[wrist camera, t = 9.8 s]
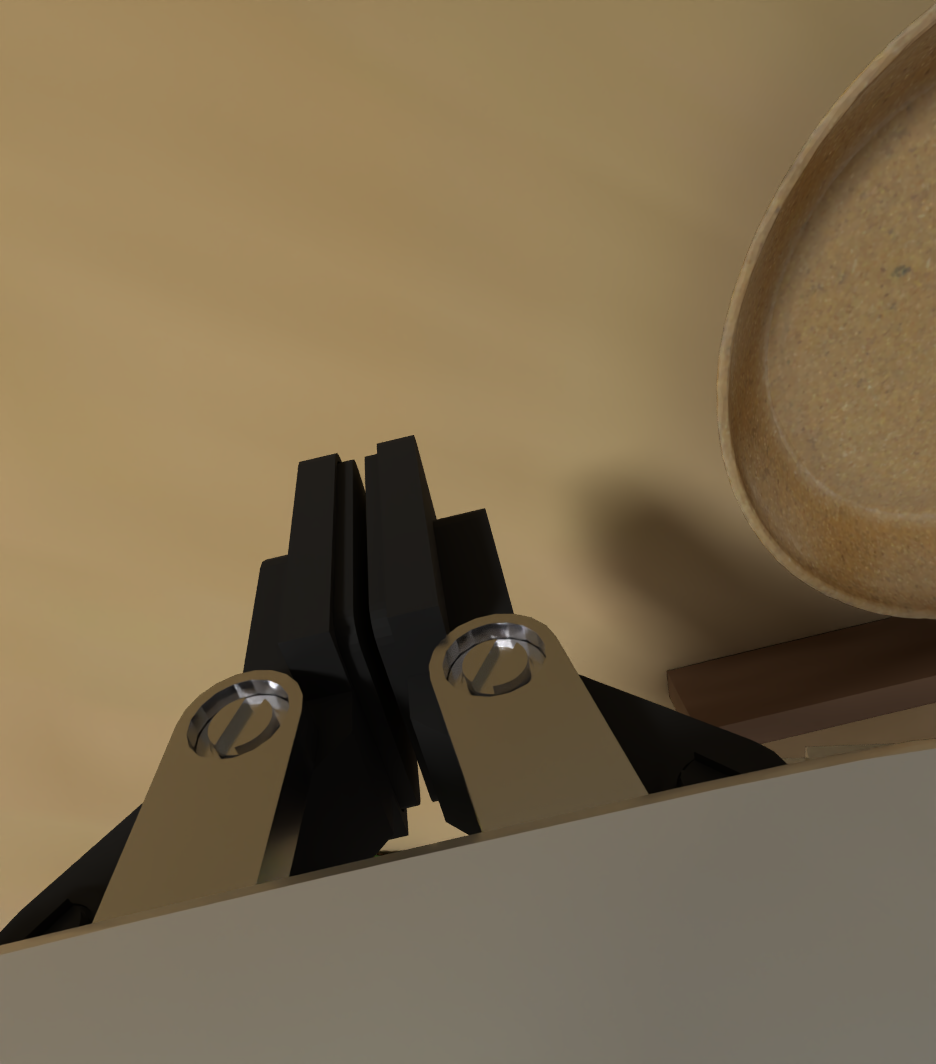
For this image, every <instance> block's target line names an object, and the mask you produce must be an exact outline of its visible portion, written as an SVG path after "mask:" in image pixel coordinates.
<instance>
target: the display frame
mask: <svg viewBox="0 0 936 1064" xmlns="http://www.w3.org/2000/svg"><path fill="white" fill-rule="evenodd" d="M667 679H668V689H669V697H670V699H671V701H672V703H673V705H674V707H675V709H676V711H677V712H679V713H682V714H685V715H687V716H690V717H693V718H695V719H698V720H700V721H703V722H706V723H708V724H711V725H714V726H716V727H719V728H722V729H724V730H727V731H730V732H732V733H735V734H737V735H740V736H743V737H745V738H748V739H751V740H753V741H755V742H757V743H759V744H763V743H767V742H771V741H775V740H780V739H784V738H788V737H792V736H796V735H801V734H805V733H809V732H813V731H817V730H822V729H826V728H830V727H834V726H838V725H843V724H847V723H851V722H855V721H859V720H864V719H868V718H872V717H876V716H880V715H885V714H889V713H893V712H897V711H901V710H906V709H910V708H914V707H918V706H922V705H927V704H931V703H935V702H936V619H927V618H922V619H916V618H902V617H892V618H888V619H884V620H880V621H875V622H871V623H867V624H863V625H859V626H854V627H850V628H846V629H842V630H838V631H833V632H829V633H825V634H821V635H817V636H812V637H808V638H804V639H800V640H796V641H791V642H787V643H783V644H779V645H775V646H770V647H766V648H762V649H758V650H754V651H749V652H745V653H741V654H737V655H733V656H728V657H724V658H720V659H716V660H712V661H707V662H703V663H699V664H695V665H691V666H686V667H682V668H678V669H674V670H670V671H667Z"/></svg>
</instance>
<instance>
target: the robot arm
mask: <svg viewBox="0 0 936 1064" xmlns="http://www.w3.org/2000/svg"><path fill="white" fill-rule="evenodd" d="M365 488H366V493H365V489H364V486H363V483H362V480H361V477H360V474H359V470H358V468H357V465H356V462H355V461H354V460H349V461H345V462H342V461H341V459H340V457H339V455H338V454H337V453H336V454H331V455H327V456H323V457H319V458H314V459H310V460H306V461H302V462H299V465H298V473H297V482H296V490H295V499H294V507H293V516H292V524H291V533H290V541H289V550H288V555H284V556H280V557H276V558H272V559H267V560H265V561H263V562H262V565H261V568H260V573H259V579H258V585H257V591H256V597H255V603H254V609H253V615H252V621H251V627H250V634H249V640H248V646H247V652H246V658H245V664H244V670H243V673H241V674H237V675H234V676H232V677H230V678H228V679H225V680H223V681H221V682H219V683H217V684H215V685H214V686H212V687H211V688H209V689H208V690H206V691H205V692H204V693H202V694H201V695H199V696H198V697H197V698H196V699H195V700H194V701H193V702H192V703H191V704H190V706H189V707H188V708H187V709H186V710H185V711H184V713H183V715H182V716H181V718H180V720H179V721H178V723H177V725H176V727H175V729H174V731H173V734H172V736H171V738H170V741H169V743H168V745H167V748H166V750H165V753H164V755H163V757H162V760H161V762H160V764H159V767H158V769H157V771H156V774H155V776H154V778H153V781H152V783H151V786H150V788H149V790H148V793H147V795H146V797H145V800H144V802H143V803H142V804H141V805H140V806H139V807H138V808H137V809H135V810H134V811H133V812H132V813H131V814H130V815H129V816H128V817H126V818H125V819H124V820H123V821H122V822H121V823H120V824H118V825H117V826H116V827H115V828H114V829H113V830H112V831H110V832H109V833H108V834H107V835H106V836H105V837H104V838H103V839H101V840H100V841H99V842H98V843H97V844H96V845H95V846H93V847H92V848H91V849H90V850H89V851H88V852H87V853H86V854H84V855H83V856H82V857H81V858H80V859H79V860H78V861H76V862H75V863H74V864H73V865H72V866H71V867H70V868H69V869H67V870H66V871H65V872H64V873H63V874H62V875H61V876H59V877H58V878H57V879H56V880H55V881H54V882H53V883H52V884H50V885H49V886H48V887H47V888H46V889H45V890H44V891H42V892H41V893H40V894H39V895H38V896H37V897H36V898H34V899H33V900H32V901H31V902H30V903H29V904H28V905H27V906H25V907H24V908H23V909H22V910H21V911H20V912H19V913H18V914H17V915H16V916H15V917H14V918H13V919H12V920H11V921H10V922H9V923H8V924H7V926H6V927H5V928H4V929H3V930H2V931H1V932H0V1064H936V738H934V739H924V740H915V741H908V742H903V743H898V744H870V745H842V746H813V747H806V751H805V758H782V759H781V758H780V757H779V756H778V755H777V754H776V753H775V752H774V751H772V750H770V749H768V748H766V747H764V746H763V745H761V744H759V743H757V742H755V741H753V740H751V739H748V738H745V737H743V736H740V735H737V734H735V733H732V732H730V731H727V730H724V729H722V728H719V727H716V726H714V725H711V724H708V723H706V722H703V721H700V720H698V719H695V718H693V717H690V716H687V715H685V714H682V713H679V712H677V711H674V710H671V709H669V708H666V707H664V706H661V705H658V704H656V703H653V702H650V701H648V700H645V699H642V698H640V697H637V696H634V695H632V694H629V693H627V692H624V691H621V690H619V689H616V688H613V687H611V686H608V685H605V684H603V683H600V682H597V681H595V680H592V679H590V678H587V677H584V676H582V675H579V674H578V673H577V671H576V670H575V668H574V666H573V664H572V663H571V661H570V659H569V658H568V656H567V654H566V653H565V651H564V649H563V647H562V646H561V644H560V642H559V641H558V639H557V637H556V636H555V635H554V634H553V632H552V631H551V630H550V629H549V628H548V627H547V626H546V625H545V624H543V623H541V622H539V621H537V620H535V619H533V618H531V617H527V616H522V615H517V614H514V613H513V609H512V605H511V602H510V598H509V594H508V591H507V587H506V583H505V579H504V576H503V572H502V568H501V565H500V561H499V557H498V554H497V550H496V546H495V543H494V539H493V535H492V532H491V528H490V524H489V520H488V517H487V513H486V510H485V508H484V509H480V510H475V511H471V512H467V513H463V514H458V515H454V516H450V517H446V518H441V519H436V515H435V511H434V507H433V504H432V500H431V496H430V492H429V488H428V485H427V481H426V477H425V473H424V469H423V466H422V462H421V458H420V454H419V450H418V447H417V443H416V440H415V437H414V435H412V436H408V437H403V438H399V439H395V440H391V441H386V442H382V443H378V444H377V454H375V455H371V456H366V457H365ZM417 761H418V764H419V767H420V769H421V772H422V775H423V778H424V781H425V784H426V787H427V789H428V792H429V795H430V798H431V800H432V801H433V802H435V801H439V803H440V806H441V809H442V812H443V815H444V818H445V821H446V822H447V823H449V824H451V825H452V826H454V827H456V828H458V829H459V830H461V831H463V832H465V833H466V834H468V836H464V837H459V838H455V839H451V840H446V841H442V842H438V843H434V844H429V845H425V846H421V847H416V848H412V849H408V850H403V851H399V852H395V853H390V854H386V855H382V856H377V857H374V856H375V855H376V854H377V853H378V852H379V850H380V849H381V848H382V847H383V846H384V845H385V843H386V842H387V841H388V840H390V839H394V838H399V837H403V836H407V835H408V821H407V808H409V807H414V806H418V805H420V788H419V776H418V765H417Z"/></svg>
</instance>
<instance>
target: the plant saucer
mask: <svg viewBox="0 0 936 1064" xmlns="http://www.w3.org/2000/svg"><path fill="white" fill-rule="evenodd" d="M716 392H717V417H718V430H719V439H720V445H721V451H722V458H723V460H724V464H725V469H726V472H727V475H728V478H729V481H730V484H731V487H732V490H733V492H734V495H735V497H736V499H737V501H738V503H739V505H740V507H741V509H742V512H743V514H744V516H745V518H746V520H747V522H748V523H749V525H750V527H751V528H752V529H753V530H754V532H755V533H756V535H757V537H758V538H759V539H760V541H761V542H762V543H763V545H764V546H765V547H766V548H767V549H768V550H769V552H770V553H771V554H772V555H773V556H774V557H775V559H776V560H777V561H778V562H779V563H780V564H782V565H783V566H784V567H785V568H786V569H787V570H788V571H789V572H790V573H791V574H793V575H794V576H795V577H797V578H798V579H799V580H801V581H802V582H804V583H805V584H807V585H809V586H810V587H812V588H814V589H816V590H817V591H819V592H821V593H823V594H825V595H827V596H828V597H831V598H834V599H837V600H839V601H841V602H843V603H845V604H848V605H851V606H853V607H856V608H859V609H863V610H867V611H871V612H874V613H878V614H884V615H890V616H894V617H902V618H916V619H922V618H927V619H936V3H935V4H934V5H933V6H931V7H930V8H929V9H928V10H927V11H925V12H924V13H923V14H922V15H921V16H919V17H918V18H917V19H916V20H915V21H914V22H912V23H911V24H910V25H909V26H908V27H907V28H906V29H905V30H903V31H902V32H901V33H900V34H899V35H898V36H897V37H896V38H894V39H893V40H892V41H891V42H890V43H889V44H888V45H887V46H886V47H885V48H884V49H883V51H882V52H881V53H879V54H878V55H877V56H876V57H875V58H874V59H873V61H872V62H871V63H870V64H869V65H868V66H867V67H866V68H865V69H864V70H863V71H862V72H861V73H860V75H859V76H858V77H857V78H856V79H855V80H854V81H853V82H852V83H851V84H850V86H849V87H848V88H847V89H846V90H845V92H844V93H843V94H842V95H841V96H840V98H839V99H838V100H837V101H836V103H835V104H834V105H833V106H832V108H831V109H830V110H829V111H828V113H827V114H826V115H825V117H824V118H823V119H822V120H821V122H820V123H819V125H818V126H817V127H816V129H815V130H814V131H813V133H812V134H811V136H810V137H809V139H808V140H807V142H806V143H805V144H804V146H803V148H802V149H801V151H800V152H799V154H798V155H797V157H796V158H795V160H794V162H793V163H792V165H791V167H790V169H789V170H788V172H787V174H786V175H785V177H784V179H783V181H782V182H781V184H780V186H779V188H778V190H777V192H776V194H775V195H774V197H773V199H772V201H771V203H770V205H769V207H768V208H767V210H766V212H765V214H764V216H763V219H762V221H761V223H760V225H759V227H758V229H757V231H756V234H755V236H754V238H753V241H752V243H751V245H750V247H749V250H748V252H747V254H746V257H745V260H744V263H743V266H742V268H741V271H740V274H739V277H738V279H737V282H736V285H735V288H734V291H733V294H732V297H731V302H730V306H729V309H728V313H727V317H726V320H725V324H724V329H723V335H722V340H721V347H720V352H719V360H718V372H717V388H716Z"/></svg>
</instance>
